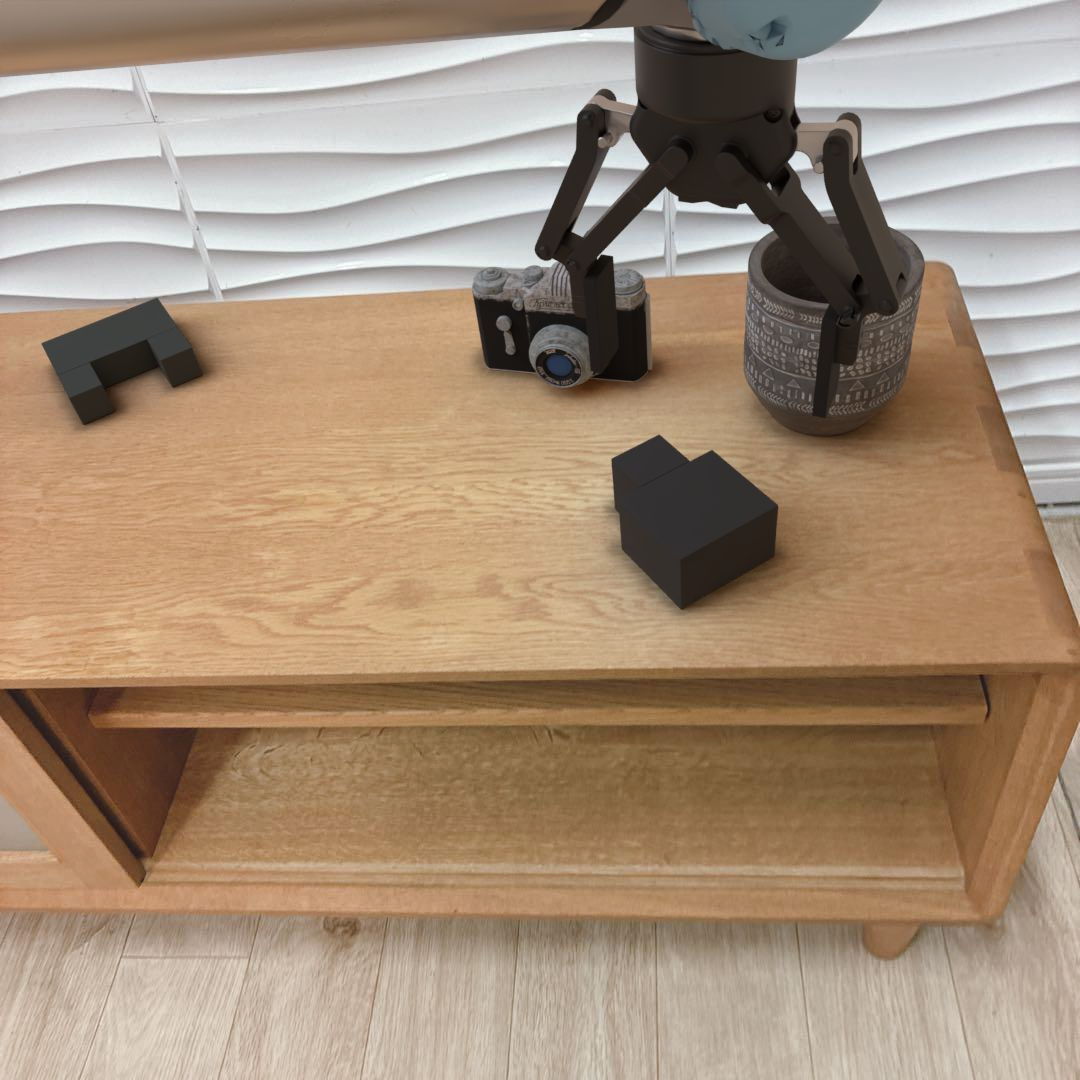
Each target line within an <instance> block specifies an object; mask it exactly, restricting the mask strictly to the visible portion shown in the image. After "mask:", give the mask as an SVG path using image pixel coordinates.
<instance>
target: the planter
mask: <svg viewBox="0 0 1080 1080" xmlns="http://www.w3.org/2000/svg"><path fill="white" fill-rule="evenodd" d="M822 217H823V218H824V220H825V221H826V222H827V224H828V225H829V226H830V228H831V229H832V230H833V232H834V233H835V234H836V236H837V237H838V238H839V240H840V241H841V242H842V244H843V245H844V246H845V248H846V249H847V250H848V252H849V253H850V254H851V256H852V257H853V255H852V253H851V250H850V248H849V245H848V243H847V241H846V238H845V236H844V233H843V231H842V229H841V226H840V224H839V221H838V219H837V217H836V215H827V216H826V215H825V216H822ZM888 227H889V229H890V232H891V234H892V237H893V239H894V242H895V245H896V247H897V250H898V252H899V255H900V257H901V260H902V262H903V265H904V268H905V270H906V273H907V275H908V278H909V283H908V286H907V288H906V291H905V293H904V296H903V299H902V301H901V304H900V306H899V308H898V311H897V312H896V313H895V314H894V315H892V316H883V315H880V314H879V313H871V314H869V315H867V317H866V324H865V331H864V338H863V345H862V347H861V350H860V352H859V354H858V357H857V359H856V361H855V362H854V364H853V365H852V366H848V365H842V364H841V365H840V373H839V381H838V389H837V392H836V394H835V396H834V399H833V401H832V403H831V406H830V408H829V411H828V413H827V415H826V418H821V417H816V416H812V411H813V401H814V391H815V382H816V372H817V362H818V353H819V343H820V333H821V324H822V318H823V316H824V314H825V312H826V310H827V308H828V306H829V302H828V301H827V299H826V298H825V297H824V295H823V294H822V293H821V291H820V290H819V289H818V288H817V286H816V285H815V284H814V282H813V281H812V280H811V278H810V277H809V276H808V274H807V273H806V272H805V271H804V269H803V268H802V267H801V265H800V264H799V263H798V261H797V260H796V259H795V258H794V256H793V255H792V254H791V252H790V251H789V250H788V248H787V247H786V246H785V245H784V243H783V242H782V241H781V239H780V238H779V237H778V235H777V234H776V233H775V232H774V230H773V229H772V231H770V232H768V233H766V234H765V235H764V236H762V237H761V238H760V239H759V240H758V241H757V242H756V243H755V244H754V246H753V247H752V249H751V251H750V254H749V256H748V259H747V260H748V261H747V280H746V281H747V282H746V294H745V319H744V320H745V321H744V323H745V324H744V336H743V337H744V338H743V373H744V377H745V380H746V382H747V384H748V386H749V387H750V389H751V390H752V392H753V394H754V395H755V396H756V398H757V399H758V401H759V402H760V403H761V404H762V406H763V407H764V408H765V410H766V411H767V412H768V413H769V414H770V415H771V416H772V418H773V419H774V420H775V421H776V422H778V423H779V425H781V426H783V427H785V428H787V429H788V430H790V431H792V432H796V433H799V434H803V435H807V436H815V437H832V436H839V435H843V434H846V433H850V432H853V431H855V430H858V428H860V427H862V426H863V425H864V424H866V423H867V422H868V421H870V420H871V419H872V418H874V416H876V415H877V414H878V413H879V412H881V410H883V409H884V408H885V407H886V406H887V405H888V404H889V403H890V402H891V401H892V400H893V399H894V398H895V397H896V396H897V394H898V393H899V392H900V391H901V389H902V388H903V386H904V383H905V381H906V379H907V374H908V370H909V365H910V360H911V353H912V345H913V337H914V332H915V329H916V324H917V322H916V321H917V318H918V312H919V306H920V302H921V294H922V288H923V282H924V275H925V270H926V263H925V258H924V254H923V252H922V251H921V249H920V247H919V246H918V244H916V242H915V241H914V240H912V239H911V238H910V237H909V236H907V235H906V234H904V233H903V232H901V231H899V230H897V229H895V228H893V227H891V226H889V225H888ZM853 258H854V257H853Z"/></svg>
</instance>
